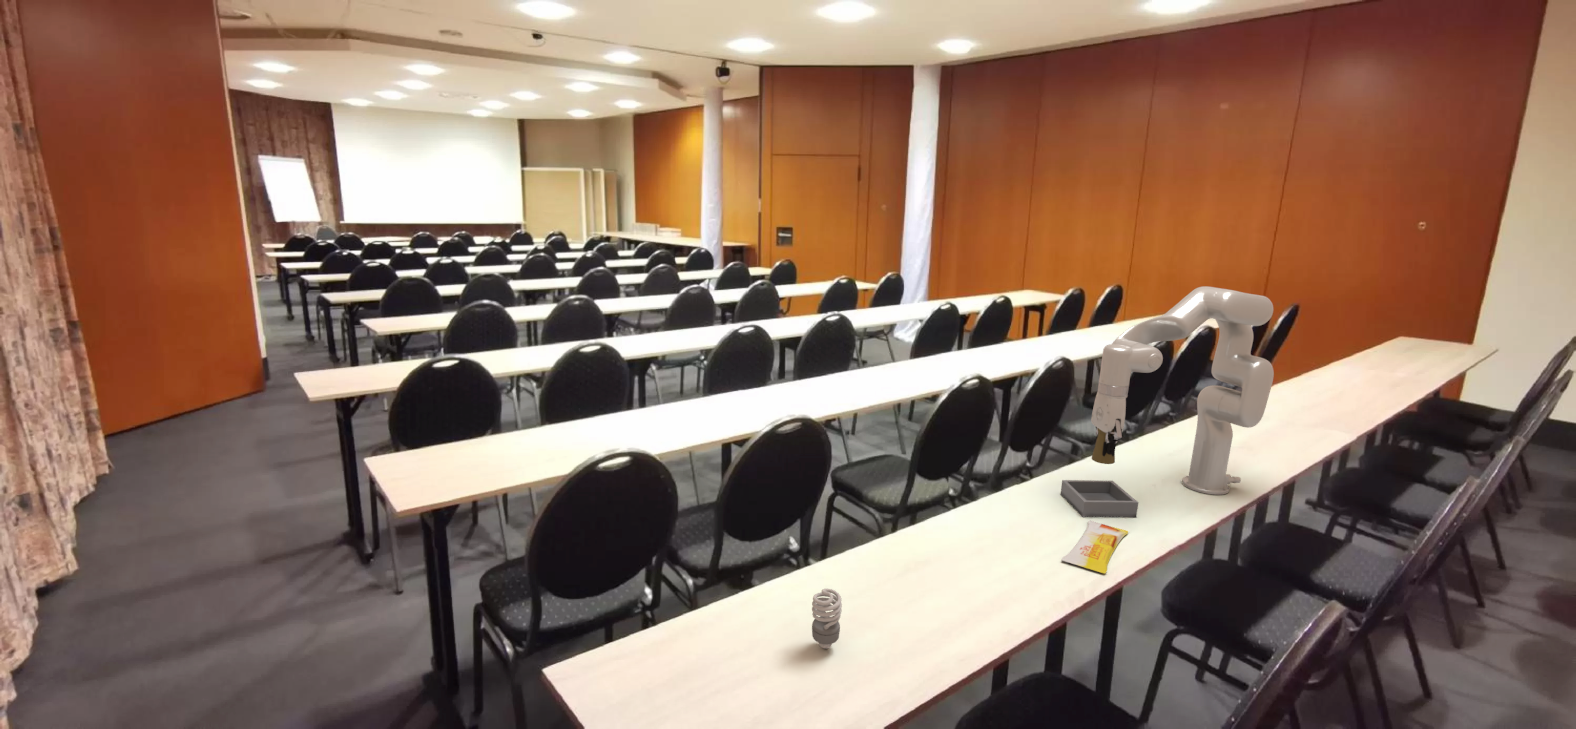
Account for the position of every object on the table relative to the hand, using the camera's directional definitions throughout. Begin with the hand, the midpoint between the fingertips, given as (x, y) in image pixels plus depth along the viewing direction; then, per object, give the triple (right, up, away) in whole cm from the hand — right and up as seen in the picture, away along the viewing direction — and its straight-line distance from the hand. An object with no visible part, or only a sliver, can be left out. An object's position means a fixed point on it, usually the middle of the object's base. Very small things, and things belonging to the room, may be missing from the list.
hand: (1104, 452), depth 199 cm
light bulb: (-81, -30, -62) cm, 107 cm away
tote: (0, -16, +4) cm, 16 cm away
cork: (0, -2, +1) cm, 2 cm away
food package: (-11, -22, -20) cm, 32 cm away
